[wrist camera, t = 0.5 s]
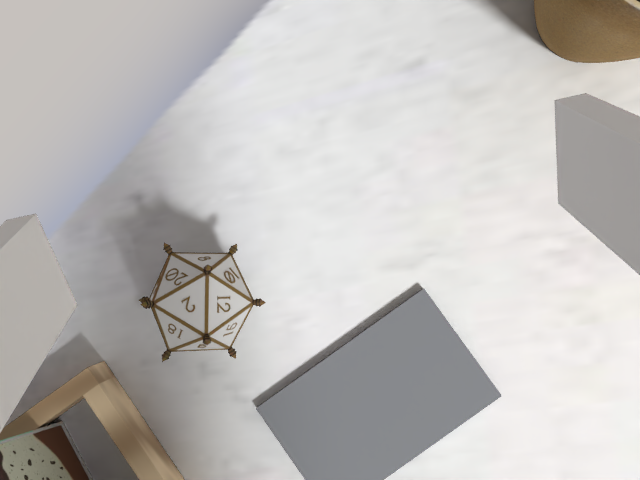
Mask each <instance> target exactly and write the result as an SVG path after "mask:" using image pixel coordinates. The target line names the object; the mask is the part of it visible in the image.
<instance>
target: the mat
mask: <svg viewBox="0 0 640 480" xmlns="http://www.w3.org/2000/svg"><path fill="white" fill-rule="evenodd" d="M499 397H501V394H500V393H499V391H498V390H497V389H496V387H495V386H494V385H493V383H492V382H491V380H490V379H489V378H488V376H487V375H486V374H485V372H484V371H483V369H482V368H481V367H480V365H479V364H478V362H477V361H476V360H475V358H474V357H473V356H472V354H471V353H470V351H469V350H468V349H467V347H466V346H465V345H464V343H463V342H462V340H461V339H460V338H459V336H458V335H457V334H456V332H455V331H454V329H453V328H452V327H451V325H450V324H449V323H448V321H447V320H446V318H445V317H444V316H443V314H442V313H441V311H440V310H439V309H438V307H437V306H436V305H435V303H434V302H433V300H432V299H431V298H430V296H429V295H428V294H427V292H426V291H425V289H422V290H420V291H419V292H417V293H416V294H415V295H413V296H412V297H410V298H409V299H408V300H406V301H405V302H403V303H402V304H401V305H399V306H398V307H396V308H395V309H394V310H392V311H391V312H389V313H388V314H387V315H385V316H384V317H382V318H381V319H380V320H378V321H377V322H375V323H374V324H373V325H371V326H370V327H368V328H367V329H366V330H364V331H363V332H361V333H360V334H359V335H357V336H356V337H354V338H353V339H352V340H350V341H349V342H347V343H346V344H345V345H343V346H342V347H340V348H339V349H338V350H336V351H335V352H333V353H332V354H331V355H329V356H328V357H326V358H325V359H324V360H322V361H321V362H319V363H318V364H317V365H315V366H314V367H312V368H311V369H310V370H308V371H307V372H305V373H304V374H303V375H301V376H300V377H298V378H297V379H296V380H294V381H293V382H291V383H290V384H289V385H287V386H286V387H284V388H283V389H282V390H280V391H279V392H277V393H276V394H275V395H273V396H272V397H270V398H269V399H268V400H266V401H265V402H263V403H262V404H261V405H259V406H258V407H257V408H256V409H257V411H258V412H259V413H260V415H261V416H262V418H263V419H264V421H265V422H266V424H267V425H268V426H269V428H270V429H271V431H272V432H273V434H274V435H275V437H276V438H277V439H278V441H279V442H280V444H281V445H282V447H283V448H284V450H285V451H286V452H287V454H288V455H289V457H290V458H291V460H292V461H293V463H294V464H295V466H296V467H297V468H298V470H299V471H300V473H301V474H302V476H303V477H304V479H305V480H384V479H385V478H387V477H388V476H390V475H391V474H392V473H394V472H395V471H397V470H398V469H399V468H401V467H402V466H404V465H405V464H406V463H408V462H409V461H411V460H412V459H414V458H415V457H416V456H418V455H419V454H421V453H422V452H423V451H425V450H426V449H428V448H429V447H430V446H432V445H433V444H435V443H436V442H437V441H439V440H440V439H442V438H443V437H444V436H446V435H447V434H449V433H450V432H452V431H453V430H454V429H456V428H457V427H459V426H460V425H461V424H463V423H464V422H466V421H467V420H468V419H470V418H471V417H473V416H474V415H475V414H477V413H478V412H480V411H481V410H482V409H484V408H485V407H487V406H488V405H490V404H491V403H492V402H494V401H495V400H497V399H498V398H499Z"/></svg>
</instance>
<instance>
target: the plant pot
mask: <svg viewBox="0 0 640 480" xmlns="http://www.w3.org/2000/svg"><path fill="white" fill-rule="evenodd" d="M534 10H535V20H536V26H537V30H538V32H539V35H540V37H541V39H542V40H543V42H544V43H545V45H546V46H547V47H548V48H549V49H550V50H551V51H552V52H554V53H555V54H556V55H558V56H560V57H562V58H564V59H566V60H569V61H574V62H582V63H602V62H615V61H622V60H629V59H635V58H640V0H534Z"/></svg>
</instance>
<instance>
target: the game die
mask: <svg viewBox="0 0 640 480" xmlns="http://www.w3.org/2000/svg"><path fill="white" fill-rule="evenodd" d="M163 250H165V251H166V252H167V253H168V258H167V260H166V262H165V264H164V267H163V269H162V271H161V273H160V275H159V278H158V280H157V282H156V284H155V287H154V289H153V291H152V293H151V296H150V298H148V297H145V296H144V297H142V298H141V299H140V300H139V301H141V302H142V304H141V305H142V306H143V307H144V308H146V309H147V308H150V307H151V309H152V311H153V314H154V316H155V319H156V321H157V324H158V327H159V329H160V332H161V334H162V337H163V339H164V342H165V344H166V347H167V351H165V352H164V354H163V355H162V362H163V361H165V360H167V359H169V356H170V353H171V352H174V351H199V350H225V349H228V353H229V354H230V356H232V357H234V358H236V352H235V349H233V348H232V345H233V343H234V341H235V339H236V337H237V335H238V333H239V331H240V329H241V328H242V326H243V324H244V322H245V320H246V318H247V316H248V314H249V312H250V310H251V308H252V307H253V305H256V306H259V307H260V306H261V305H263V304H264V303H266V302H264V301H262V300H261V299H256V300H254V299H253V297H252V295H251V293H250V291H249V289H248V287H247V285H246V283H245V281H244V279H243V277H242V275H241V272H240V270H239V268H238V266H237V264H236V262H235V260H234V258H233V256H232V255H233V254H234V253H236V250H237V244H235V245H233V246H231V248H230V249H229V250H230V251H229V253H180V252H172V248H171V247H170V245H168V244H166V243H164V249H163Z"/></svg>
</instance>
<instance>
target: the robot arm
mask: <svg viewBox="0 0 640 480" xmlns="http://www.w3.org/2000/svg"><path fill="white" fill-rule="evenodd" d="M555 126H556V153H557V181H558V204H560V205H561V206H562V207H563V208H564V209H565V210H566V211H568V212H569V213H570V214H571V215H572V216H573V217H574V218H575V219H577V220H578V221H579V222H580V223H581V224H582V225H583V226H585V227H586V228H587V229H588V230H589V231H590V232H591V233H593V234H594V235H595V236H596V237H597V238H598V239H599V240H600V241H602V242H603V243H604V244H605V245H606V246H607V247H608V248H610V249H611V250H612V251H613V252H614V253H615V254H616V255H618V256H619V257H620V258H621V259H622V260H623V261H624V262H625V263H627V264H628V265H629V266H630V267H631V268H632V269H633V270H635V271H636V272H637V273H638V274H639V275H640V117H639V116H637V115H635V114H632V113H630V112H628V111H626V110H623V109H621V108H619V107H616V106H614V105H612V104H609V103H607V102H605V101H602V100H600V99H598V98H596V97H593V96H591V95H589V94H586V93H585V94H581V95H576V96H572V97H567V98H562V99H558V100H555ZM76 307H77V303H76V301H75V298H74V296H73V294H72V292H71V290H70V287H69V285H68V283H67V281H66V279H65V276H64V274H63V272H62V270H61V268H60V265H59V263H58V261H57V259H56V257H55V254H54V252H53V250H52V248H51V246H50V243H49V241H48V239H47V237H46V235H45V232H44V230H43V228H42V226H41V224H40V221H39V219H38V217H37V215H36V214H32V215H27V216H23V217H18V218H14V219H9V220H6V221H5V222H4V223H3V224H2V225H1V226H0V433H1V431H2V429H3V428H4V426H5V424H6V423H7V421H8V419H9V418H10V416H11V414H12V413H13V411H14V409H15V408H16V406H17V404H18V403H19V401H20V399H21V398H22V396H23V395H24V393H25V391H26V390H27V388H28V386H29V385H30V383H31V381H32V380H33V378H34V376H35V375H36V373H37V371H38V370H39V368H40V366H41V365H42V363H43V361H44V360H45V358H46V357H47V355H48V353H49V352H50V350H51V348H52V347H53V345H54V343H55V342H56V340H57V338H58V337H59V335H60V333H61V332H62V330H63V328H64V327H65V325H66V323H67V322H68V320H69V318H70V317H71V315H72V314H73V312H74V310H75V309H76Z"/></svg>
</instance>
